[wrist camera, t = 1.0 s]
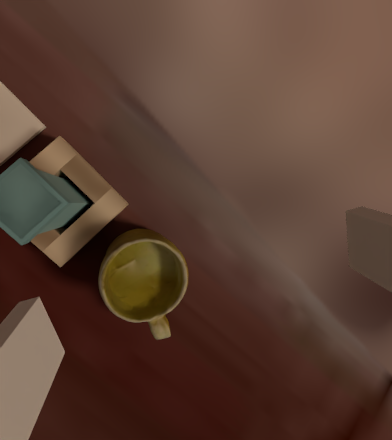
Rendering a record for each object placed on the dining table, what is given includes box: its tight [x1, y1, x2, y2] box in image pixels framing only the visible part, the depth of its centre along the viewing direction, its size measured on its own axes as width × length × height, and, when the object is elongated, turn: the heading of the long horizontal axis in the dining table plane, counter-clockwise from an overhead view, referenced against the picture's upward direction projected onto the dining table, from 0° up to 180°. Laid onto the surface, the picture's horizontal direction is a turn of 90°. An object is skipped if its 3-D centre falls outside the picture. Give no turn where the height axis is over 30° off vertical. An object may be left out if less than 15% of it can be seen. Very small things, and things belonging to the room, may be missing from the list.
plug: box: [0, 158, 92, 245], centre depth 26 cm, size 4×4×14 cm
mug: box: [98, 229, 188, 339], centre depth 31 cm, size 12×10×10 cm
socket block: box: [30, 136, 128, 267], centre depth 31 cm, size 10×10×4 cm
